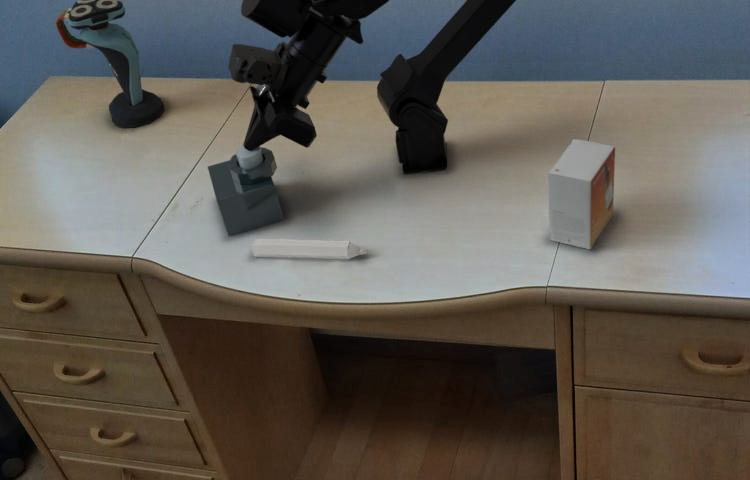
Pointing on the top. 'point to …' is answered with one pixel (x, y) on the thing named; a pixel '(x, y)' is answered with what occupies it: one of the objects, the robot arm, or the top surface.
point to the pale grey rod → (306, 249)
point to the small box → (581, 193)
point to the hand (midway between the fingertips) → (246, 148)
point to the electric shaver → (113, 58)
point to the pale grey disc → (249, 157)
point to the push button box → (246, 194)
